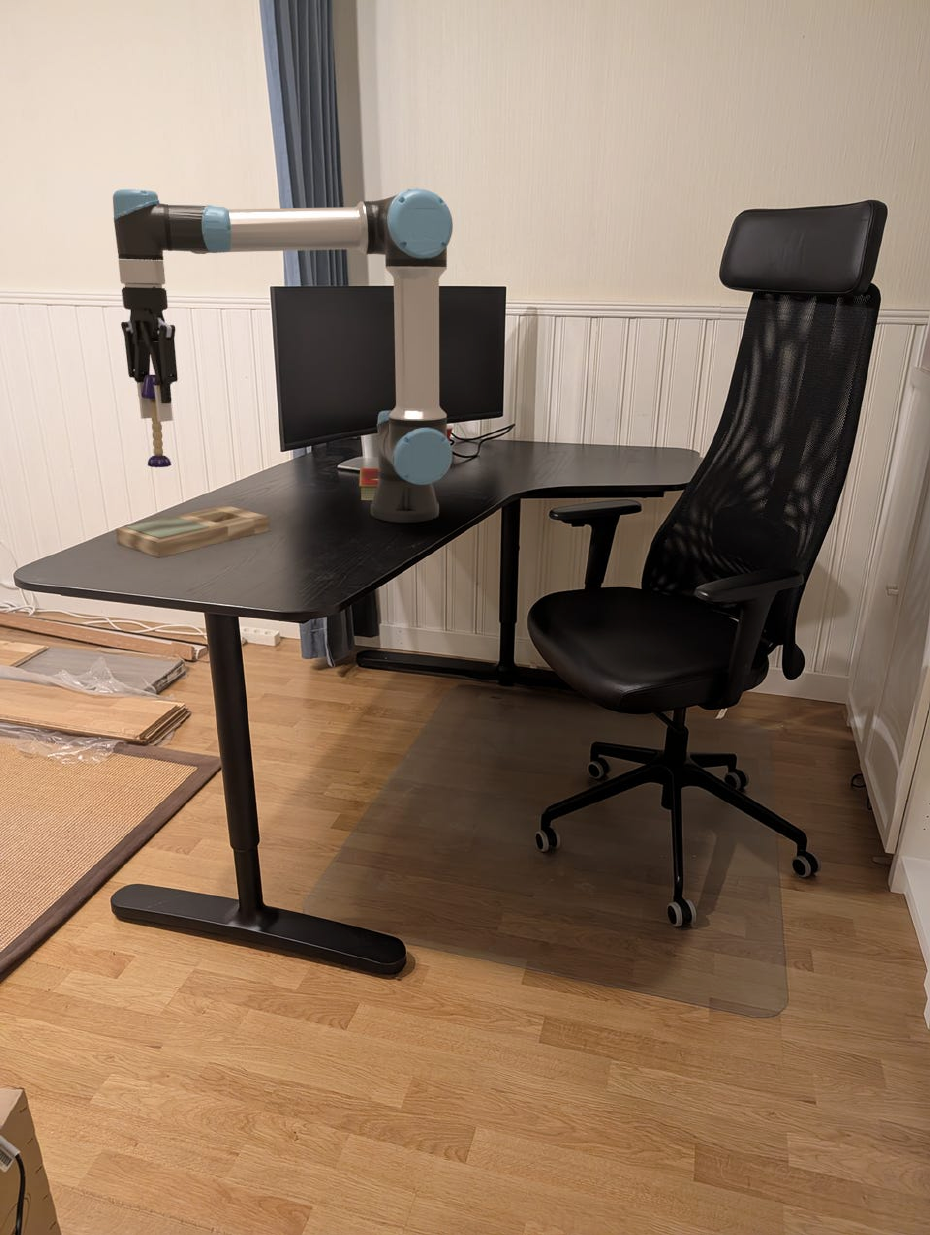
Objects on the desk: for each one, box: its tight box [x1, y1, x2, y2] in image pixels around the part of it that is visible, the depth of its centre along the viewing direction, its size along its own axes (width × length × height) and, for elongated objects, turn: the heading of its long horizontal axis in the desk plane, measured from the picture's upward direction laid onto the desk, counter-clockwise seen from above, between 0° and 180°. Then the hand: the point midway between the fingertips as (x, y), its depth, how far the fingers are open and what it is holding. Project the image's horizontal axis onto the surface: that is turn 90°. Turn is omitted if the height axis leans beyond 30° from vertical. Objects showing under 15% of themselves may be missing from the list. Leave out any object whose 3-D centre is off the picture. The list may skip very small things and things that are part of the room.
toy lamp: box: [142, 374, 172, 468], centre depth 167 cm, size 5×5×17 cm
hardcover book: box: [358, 467, 378, 501], centre depth 222 cm, size 12×21×4 cm, turn 6°
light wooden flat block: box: [115, 505, 270, 559], centre depth 180 cm, size 14×26×3 cm, turn 141°
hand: (156, 419), depth 167 cm, fingers closed on toy lamp, 5 cm apart
